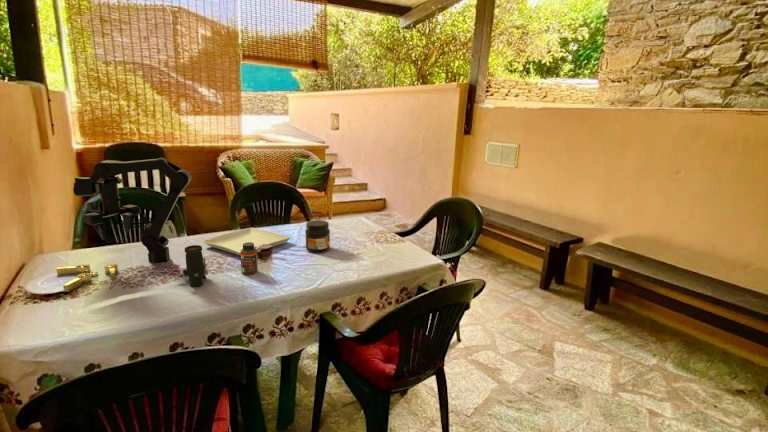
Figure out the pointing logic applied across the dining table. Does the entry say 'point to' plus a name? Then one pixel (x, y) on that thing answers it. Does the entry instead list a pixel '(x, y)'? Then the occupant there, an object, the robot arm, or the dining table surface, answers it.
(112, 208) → the robot arm
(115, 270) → the knob near
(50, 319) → the dining table surface
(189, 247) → the scope
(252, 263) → the supplement bottle
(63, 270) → the knob front
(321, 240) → the supplement container
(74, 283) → the knob left
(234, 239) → the square plate
